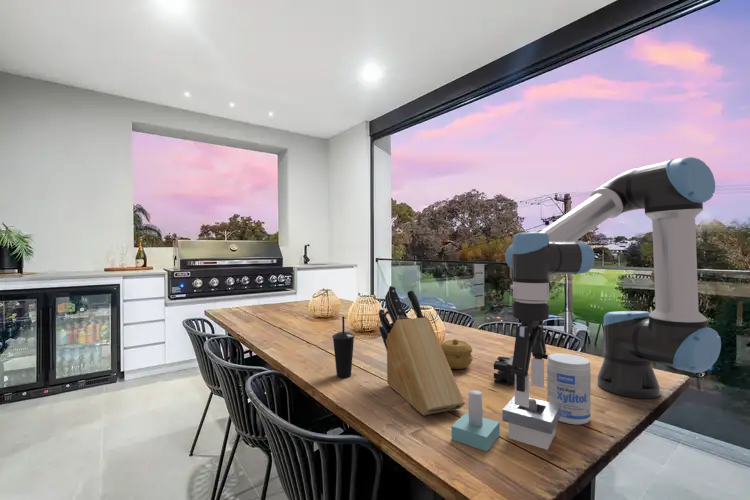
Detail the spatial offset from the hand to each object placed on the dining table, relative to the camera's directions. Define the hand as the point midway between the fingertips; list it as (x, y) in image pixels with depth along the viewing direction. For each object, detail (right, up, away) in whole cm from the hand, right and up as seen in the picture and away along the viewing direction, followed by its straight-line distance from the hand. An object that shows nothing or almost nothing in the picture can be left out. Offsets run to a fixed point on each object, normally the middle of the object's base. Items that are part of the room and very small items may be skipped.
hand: (530, 395), depth 80 cm
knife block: (-23, -10, +26) cm, 36 cm away
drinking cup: (-45, -10, +40) cm, 62 cm away
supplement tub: (+14, -9, +9) cm, 19 cm away
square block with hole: (0, -5, 0) cm, 5 cm away
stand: (+1, -9, 0) cm, 9 cm away
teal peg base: (-12, -9, 0) cm, 15 cm away
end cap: (+8, -10, +35) cm, 37 cm away
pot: (-6, -10, +48) cm, 49 cm away
